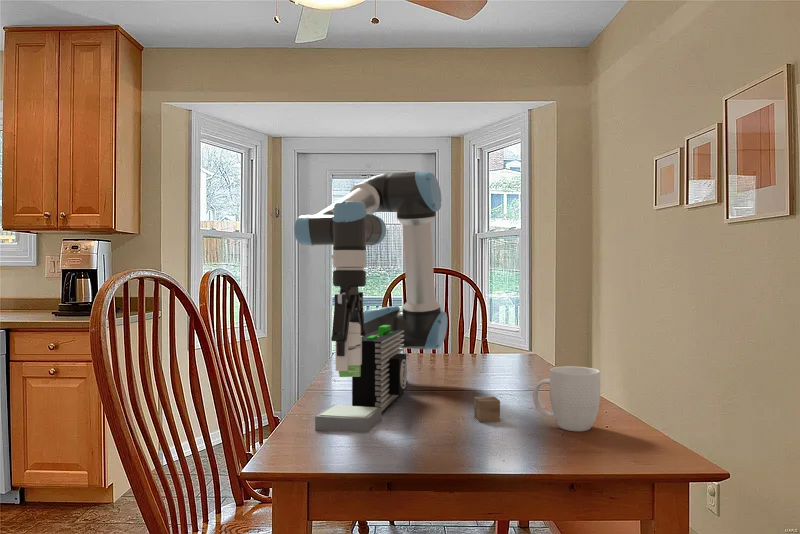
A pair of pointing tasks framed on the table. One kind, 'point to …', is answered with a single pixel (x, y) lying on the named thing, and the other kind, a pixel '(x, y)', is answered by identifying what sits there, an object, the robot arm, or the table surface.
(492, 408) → the walnut block
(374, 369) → the electronic device
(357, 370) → the ink box
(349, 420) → the stand
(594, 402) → the mug
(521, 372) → the table surface
